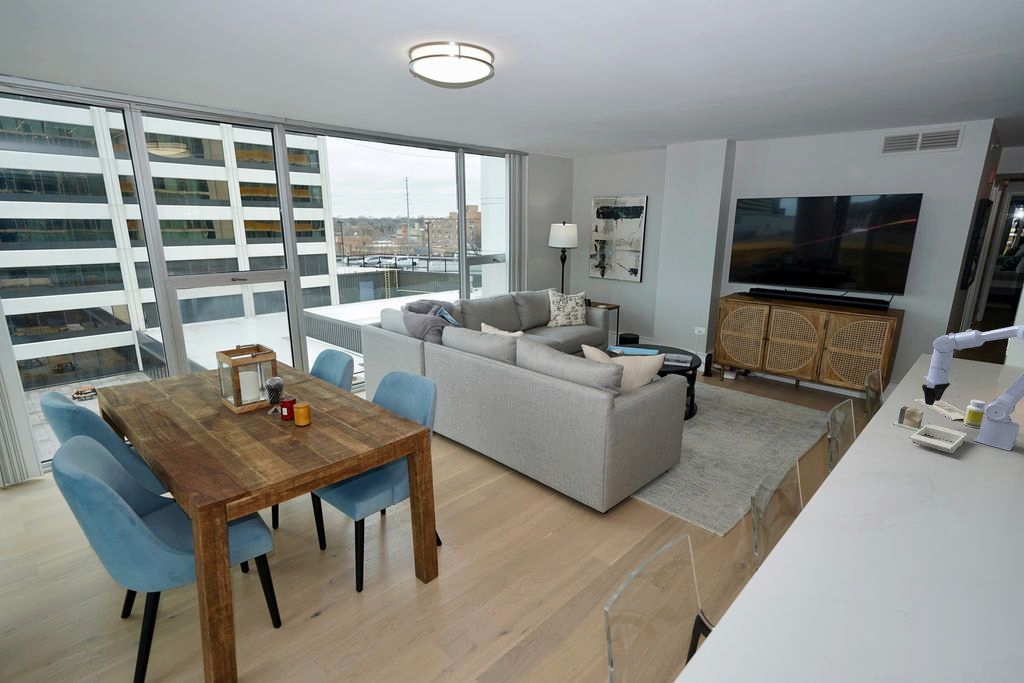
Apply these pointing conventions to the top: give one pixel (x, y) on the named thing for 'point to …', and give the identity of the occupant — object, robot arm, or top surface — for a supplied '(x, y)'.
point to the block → (910, 417)
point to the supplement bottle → (974, 413)
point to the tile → (907, 426)
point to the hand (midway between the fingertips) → (932, 402)
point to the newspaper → (944, 409)
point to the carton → (940, 433)
